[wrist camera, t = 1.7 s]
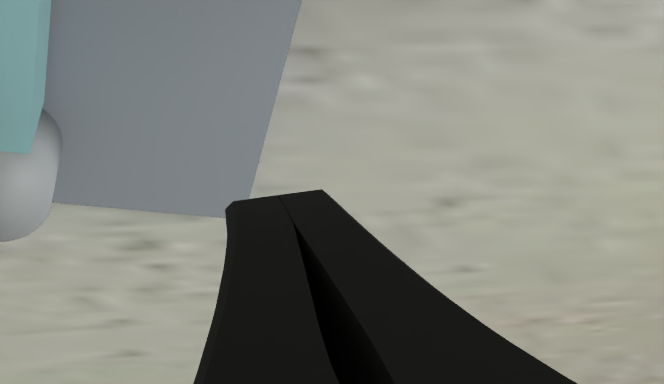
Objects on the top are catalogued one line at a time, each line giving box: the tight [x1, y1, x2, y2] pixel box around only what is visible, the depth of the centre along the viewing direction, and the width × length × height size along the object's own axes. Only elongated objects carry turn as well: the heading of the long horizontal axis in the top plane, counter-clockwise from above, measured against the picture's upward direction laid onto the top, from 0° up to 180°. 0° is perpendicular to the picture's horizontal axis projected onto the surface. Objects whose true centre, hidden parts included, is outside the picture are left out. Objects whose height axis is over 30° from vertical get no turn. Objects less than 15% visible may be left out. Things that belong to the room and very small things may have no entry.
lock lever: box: [0, 0, 62, 242], centre depth 13 cm, size 8×2×3 cm, turn 163°
